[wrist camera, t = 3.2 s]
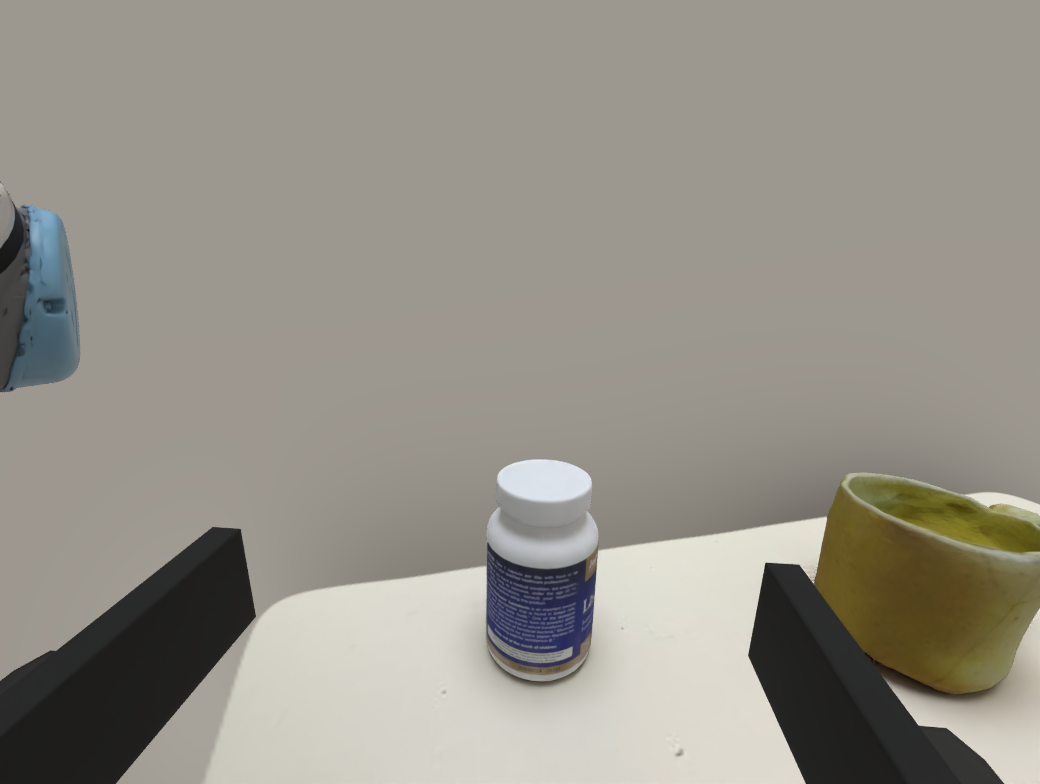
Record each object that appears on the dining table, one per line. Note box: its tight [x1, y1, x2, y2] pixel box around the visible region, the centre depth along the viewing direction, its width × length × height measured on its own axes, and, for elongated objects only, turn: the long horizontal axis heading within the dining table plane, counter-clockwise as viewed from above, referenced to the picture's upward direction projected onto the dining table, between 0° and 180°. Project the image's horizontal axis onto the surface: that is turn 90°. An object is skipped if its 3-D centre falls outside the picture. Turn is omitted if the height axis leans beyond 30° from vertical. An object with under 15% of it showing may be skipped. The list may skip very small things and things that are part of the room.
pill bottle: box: [486, 459, 598, 681], centre depth 25 cm, size 6×6×10 cm
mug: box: [814, 473, 1040, 694], centre depth 26 cm, size 12×10×10 cm
